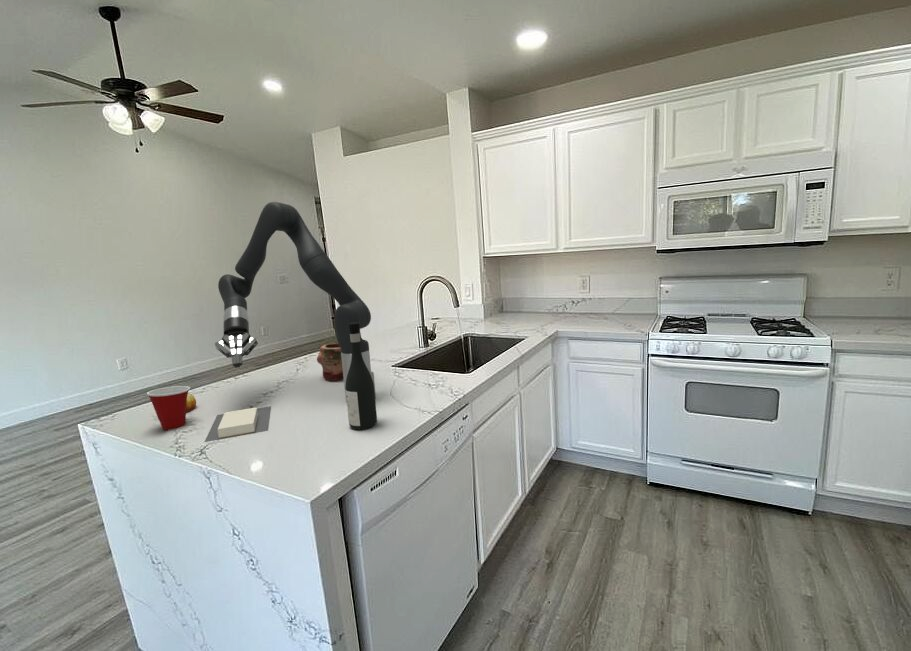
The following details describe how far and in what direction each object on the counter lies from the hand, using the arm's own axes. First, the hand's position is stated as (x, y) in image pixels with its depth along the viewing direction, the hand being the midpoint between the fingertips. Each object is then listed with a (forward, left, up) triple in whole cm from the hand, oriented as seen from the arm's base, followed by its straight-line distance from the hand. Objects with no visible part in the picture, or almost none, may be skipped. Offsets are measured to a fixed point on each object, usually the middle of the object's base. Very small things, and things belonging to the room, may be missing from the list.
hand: (237, 366), depth 134 cm
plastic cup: (+11, +15, -16) cm, 25 cm away
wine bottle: (-43, -9, -16) cm, 47 cm away
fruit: (+24, +7, -16) cm, 30 cm away
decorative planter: (-1, -42, -16) cm, 45 cm away
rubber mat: (-7, +5, -16) cm, 18 cm away
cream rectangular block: (-4, +3, -14) cm, 15 cm away
